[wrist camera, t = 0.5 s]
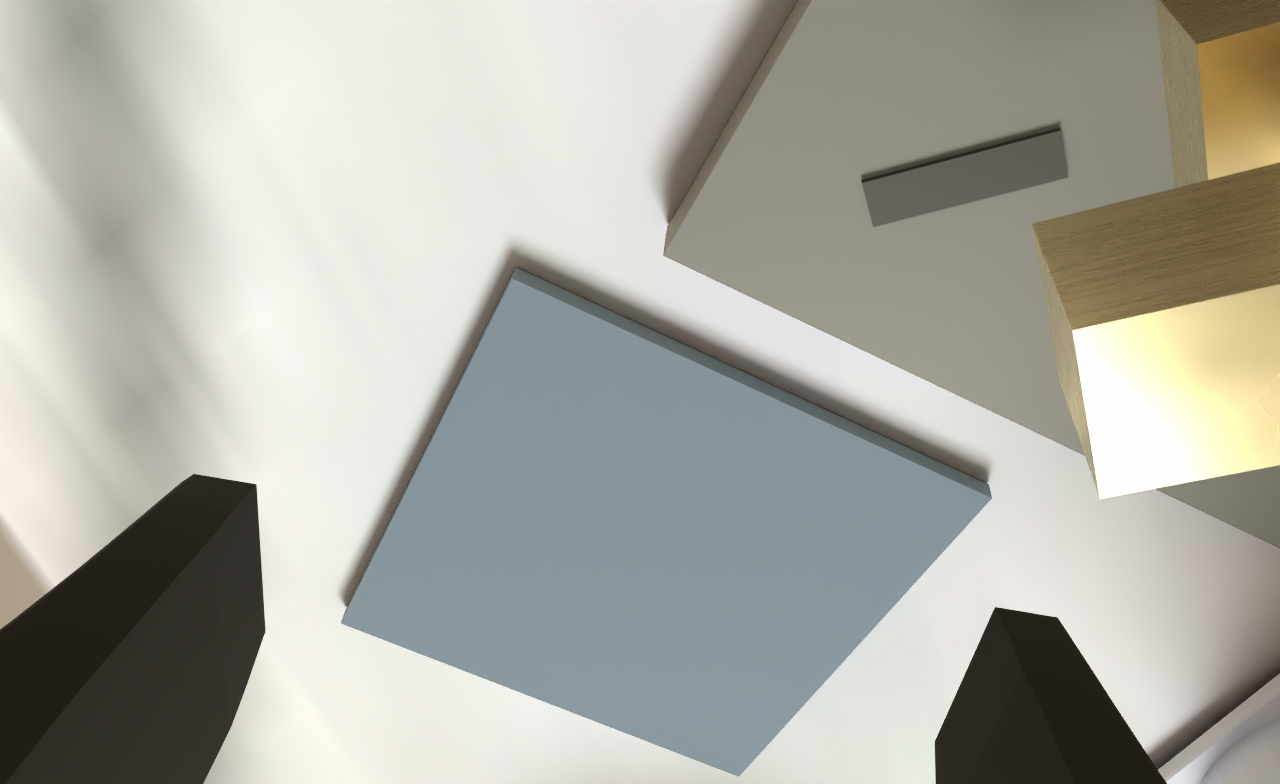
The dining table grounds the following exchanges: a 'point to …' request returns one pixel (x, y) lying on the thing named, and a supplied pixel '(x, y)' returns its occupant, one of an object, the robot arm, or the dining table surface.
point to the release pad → (649, 531)
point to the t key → (1182, 272)
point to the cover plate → (942, 190)
